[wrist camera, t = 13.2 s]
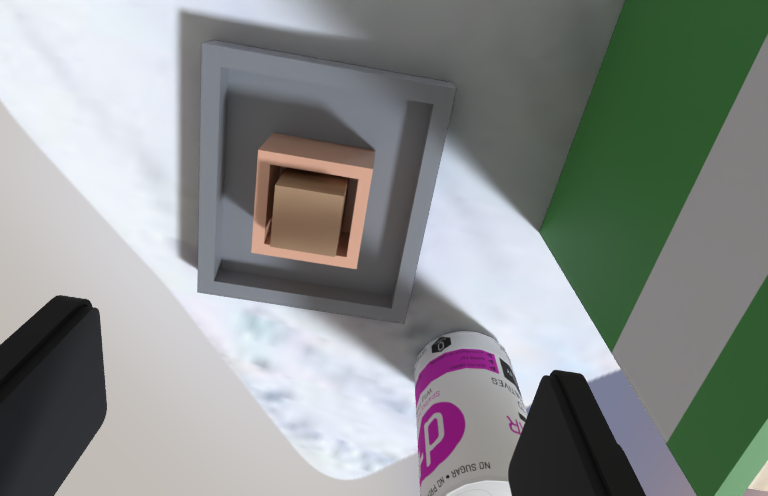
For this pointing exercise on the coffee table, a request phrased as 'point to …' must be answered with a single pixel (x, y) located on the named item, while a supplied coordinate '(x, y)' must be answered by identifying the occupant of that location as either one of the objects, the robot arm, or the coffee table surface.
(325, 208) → the block
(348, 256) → the salmon pink square box
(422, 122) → the tray
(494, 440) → the supplement can
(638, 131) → the hardback book
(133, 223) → the coffee table surface
